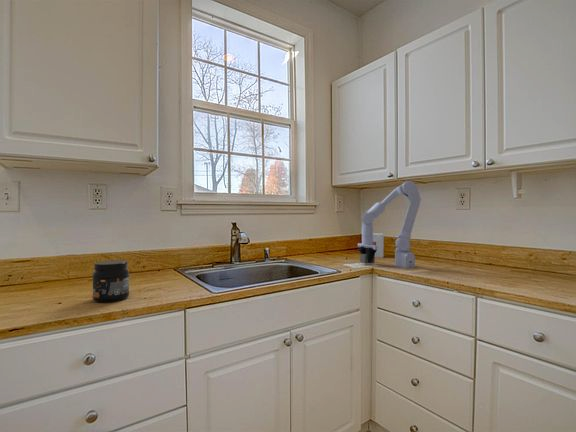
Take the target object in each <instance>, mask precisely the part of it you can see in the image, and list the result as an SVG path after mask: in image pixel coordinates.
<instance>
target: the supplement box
mask: <svg viewBox="0 0 576 432" xmlns="http://www.w3.org/2000/svg"><path fill="white" fill-rule="evenodd" d="M384 236H385V234H384V233H381V232H378V233H377V232H375V233H374V232H373V245H376V246H378V250H377V251H376V253H375V258H383V259H384V250H385V249H384V248H385V246H384V245H385V242H384V239H385V237H384ZM370 248H371V247H370Z"/></svg>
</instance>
